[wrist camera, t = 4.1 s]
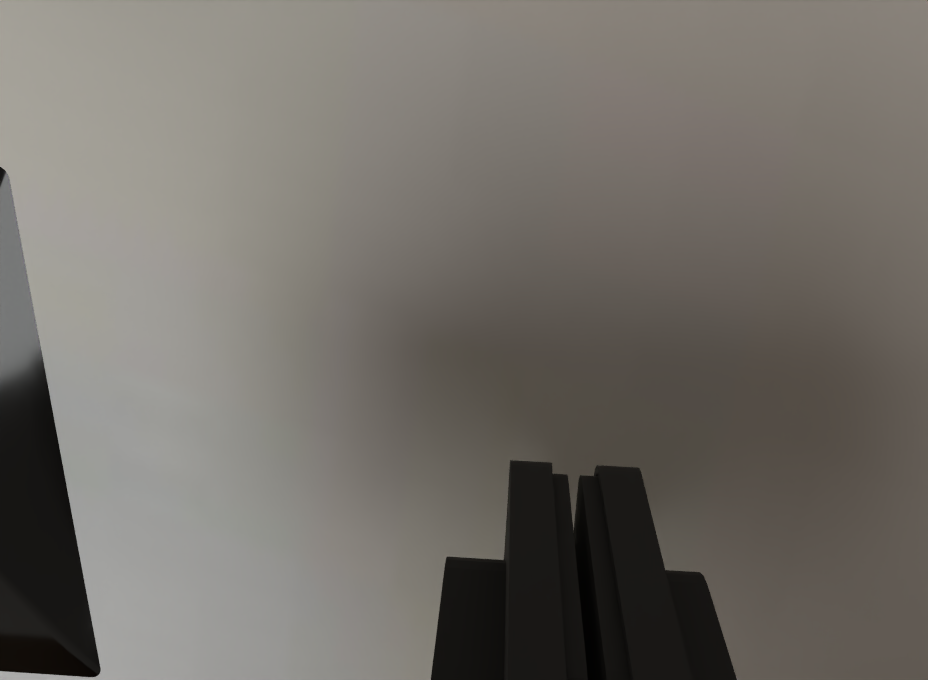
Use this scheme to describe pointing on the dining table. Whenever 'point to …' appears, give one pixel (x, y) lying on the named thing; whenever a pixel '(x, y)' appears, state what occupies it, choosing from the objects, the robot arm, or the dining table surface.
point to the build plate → (34, 494)
